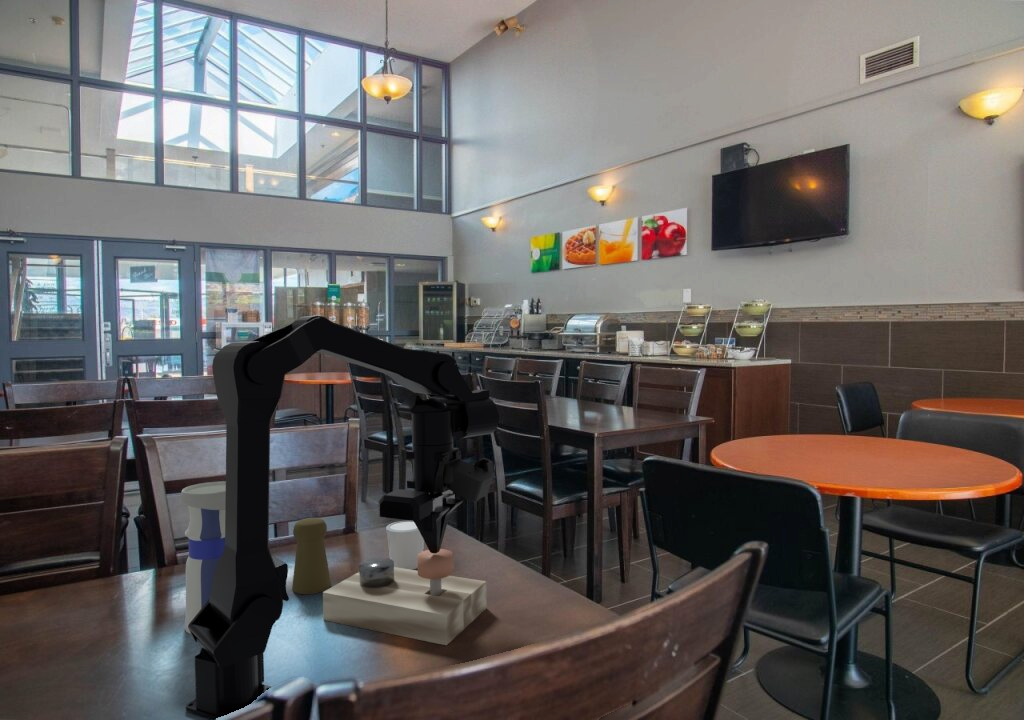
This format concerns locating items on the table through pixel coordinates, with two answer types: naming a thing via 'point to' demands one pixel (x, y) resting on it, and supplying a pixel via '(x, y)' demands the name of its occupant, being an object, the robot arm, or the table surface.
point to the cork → (310, 557)
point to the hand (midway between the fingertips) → (434, 552)
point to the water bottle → (203, 541)
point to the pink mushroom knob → (435, 568)
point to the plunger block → (407, 606)
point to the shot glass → (404, 544)
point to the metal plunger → (376, 572)
